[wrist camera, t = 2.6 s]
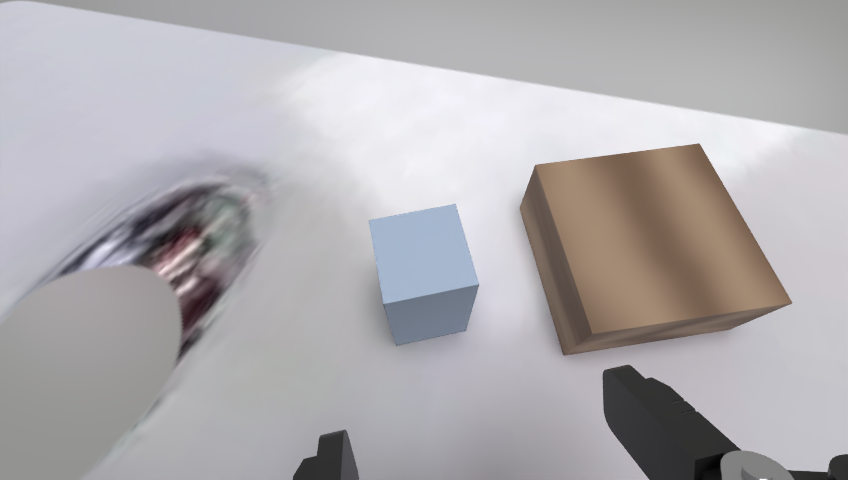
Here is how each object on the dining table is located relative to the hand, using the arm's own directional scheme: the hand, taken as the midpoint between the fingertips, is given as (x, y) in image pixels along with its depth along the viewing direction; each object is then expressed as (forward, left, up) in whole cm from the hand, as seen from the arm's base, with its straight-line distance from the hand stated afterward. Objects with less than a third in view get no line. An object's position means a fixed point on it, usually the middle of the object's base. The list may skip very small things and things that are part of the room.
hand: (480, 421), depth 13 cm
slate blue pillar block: (0, +9, -15) cm, 18 cm away
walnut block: (+15, +9, -16) cm, 23 cm away
